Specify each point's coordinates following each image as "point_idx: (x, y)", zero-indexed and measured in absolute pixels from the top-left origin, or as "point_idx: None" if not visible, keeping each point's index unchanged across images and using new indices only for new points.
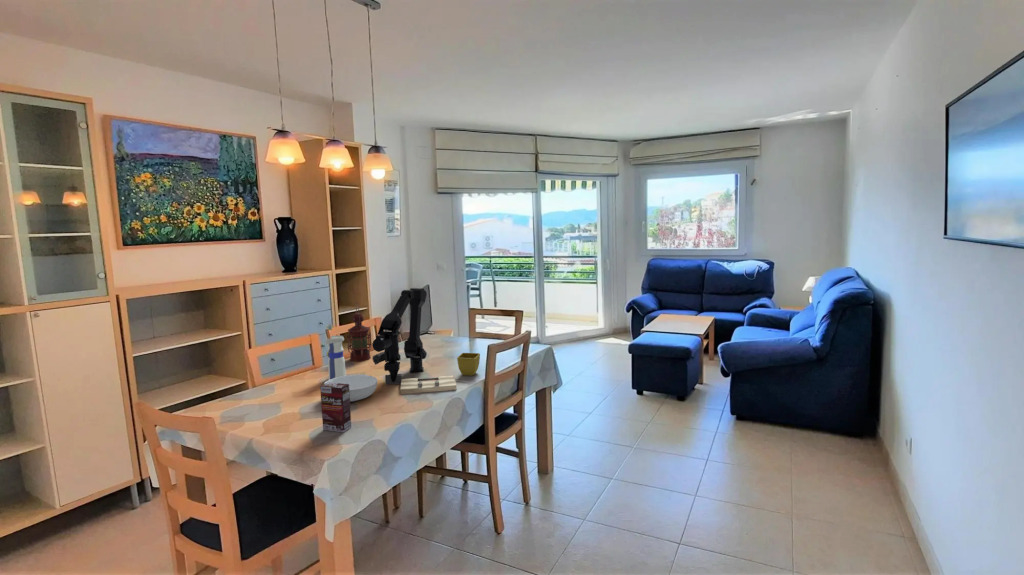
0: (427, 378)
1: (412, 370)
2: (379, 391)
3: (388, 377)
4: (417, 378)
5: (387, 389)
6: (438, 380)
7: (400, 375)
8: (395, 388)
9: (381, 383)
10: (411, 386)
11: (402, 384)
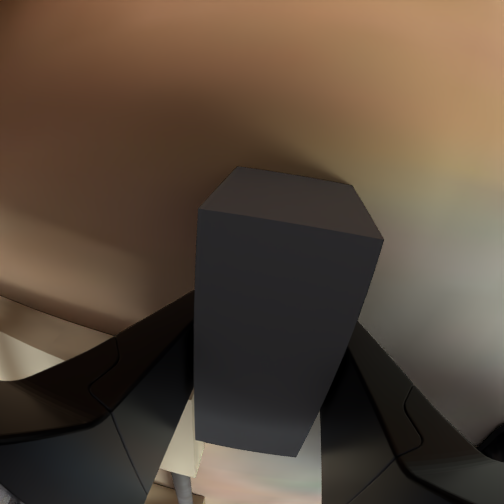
0: (179, 495)
1: (501, 443)
2: (3, 101)
3: (201, 273)
4: (184, 474)
5: (37, 186)
6: (172, 499)
7: (211, 437)
8: (59, 271)
9: (327, 107)
10: (2, 379)
11: (21, 350)
